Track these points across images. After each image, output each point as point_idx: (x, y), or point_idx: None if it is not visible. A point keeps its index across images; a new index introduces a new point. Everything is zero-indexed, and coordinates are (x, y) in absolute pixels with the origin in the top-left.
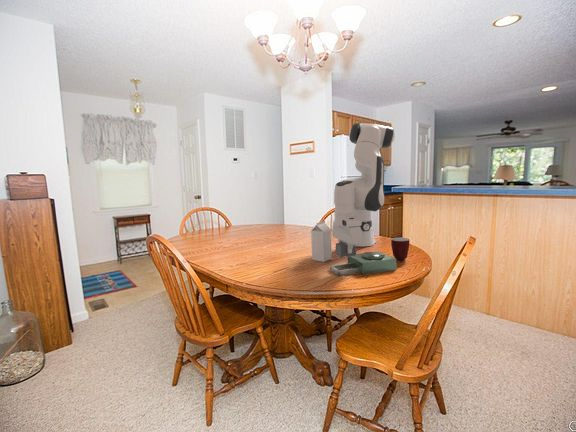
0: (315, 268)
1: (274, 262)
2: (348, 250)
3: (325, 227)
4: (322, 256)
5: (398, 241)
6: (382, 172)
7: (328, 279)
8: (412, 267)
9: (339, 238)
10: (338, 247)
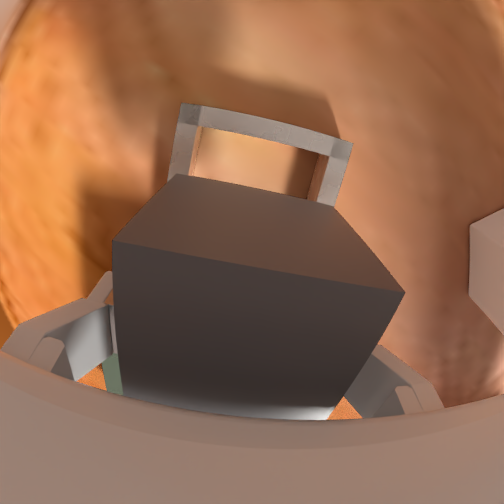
0: (426, 91)
1: None
2: (93, 293)
3: None
4: (498, 234)
5: None
6: None
7: (170, 14)
8: None
9: (382, 441)
10: (253, 234)
